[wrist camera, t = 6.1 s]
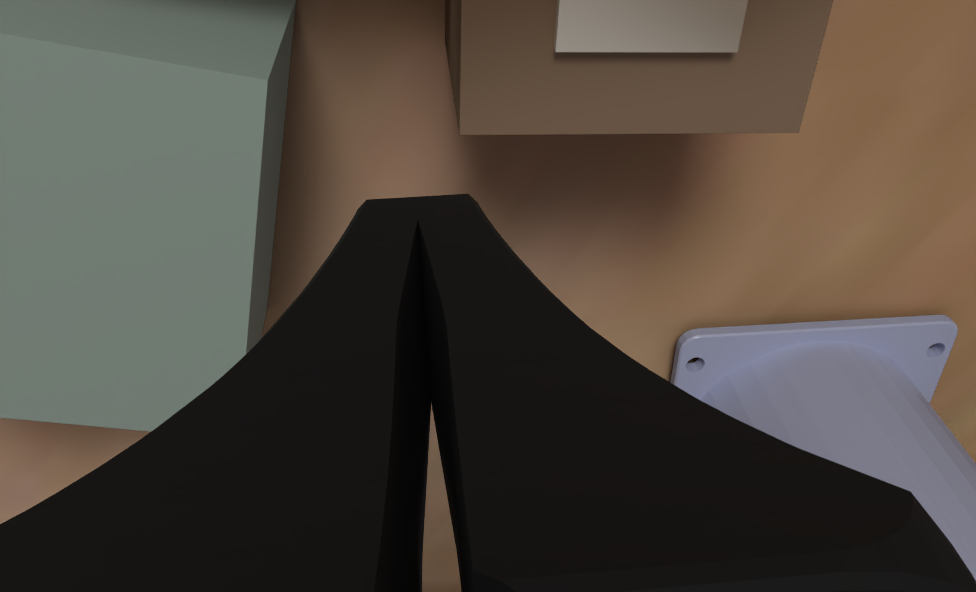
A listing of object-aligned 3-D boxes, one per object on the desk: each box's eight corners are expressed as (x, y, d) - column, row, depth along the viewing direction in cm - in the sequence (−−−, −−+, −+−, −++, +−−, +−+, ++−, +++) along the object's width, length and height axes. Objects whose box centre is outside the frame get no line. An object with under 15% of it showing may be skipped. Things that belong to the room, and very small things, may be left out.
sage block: (268, 304, 22) (238, 439, 18) (-71, 262, 20) (-188, 400, 16) (297, -5, 18) (267, 80, 14) (-129, -89, 16) (-309, -21, 12)
